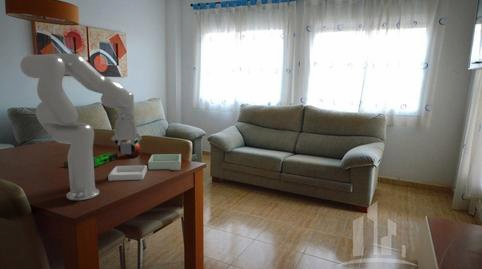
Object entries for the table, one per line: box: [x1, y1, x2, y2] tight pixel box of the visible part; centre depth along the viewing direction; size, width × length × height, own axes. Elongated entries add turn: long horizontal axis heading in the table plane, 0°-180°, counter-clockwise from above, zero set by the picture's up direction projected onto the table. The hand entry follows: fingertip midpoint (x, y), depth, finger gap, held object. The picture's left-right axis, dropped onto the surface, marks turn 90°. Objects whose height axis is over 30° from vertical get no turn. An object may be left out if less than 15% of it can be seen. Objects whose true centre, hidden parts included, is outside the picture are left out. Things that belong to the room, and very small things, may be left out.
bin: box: [147, 153, 182, 171], centre depth 179 cm, size 17×17×5 cm
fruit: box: [124, 140, 142, 158], centre depth 199 cm, size 11×11×10 cm
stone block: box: [120, 141, 132, 155], centre depth 156 cm, size 5×5×5 cm
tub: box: [107, 164, 148, 181], centre depth 159 cm, size 16×16×4 cm
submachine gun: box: [63, 152, 120, 168], centre depth 183 cm, size 5×29×25 cm
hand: (126, 152), depth 156 cm, fingers closed on stone block, 5 cm apart
